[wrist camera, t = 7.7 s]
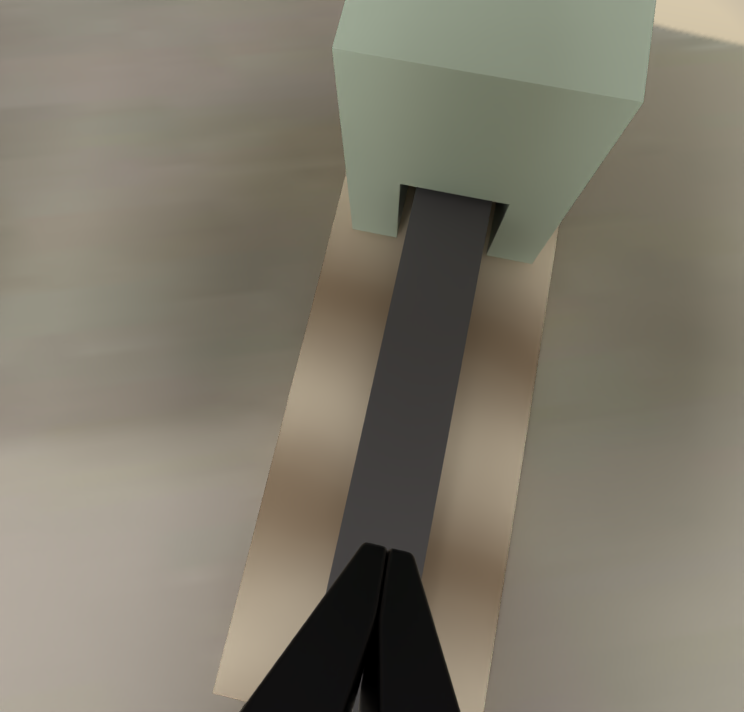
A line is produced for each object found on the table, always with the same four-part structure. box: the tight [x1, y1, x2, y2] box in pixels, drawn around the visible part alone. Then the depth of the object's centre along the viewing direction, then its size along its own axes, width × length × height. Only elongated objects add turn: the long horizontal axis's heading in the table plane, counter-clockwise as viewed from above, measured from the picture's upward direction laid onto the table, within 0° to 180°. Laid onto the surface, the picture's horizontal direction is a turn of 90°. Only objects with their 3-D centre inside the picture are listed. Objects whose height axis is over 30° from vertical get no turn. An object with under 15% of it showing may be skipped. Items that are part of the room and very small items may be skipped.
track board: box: [213, 175, 559, 712], centre depth 17 cm, size 21×7×2 cm, turn 168°
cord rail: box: [326, 187, 492, 712], centre depth 15 cm, size 20×2×3 cm, turn 168°
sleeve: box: [332, 0, 656, 264], centre depth 14 cm, size 4×6×7 cm
